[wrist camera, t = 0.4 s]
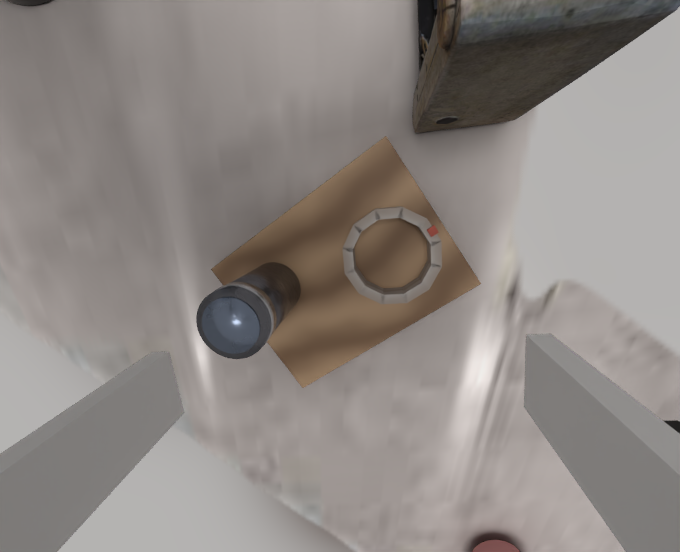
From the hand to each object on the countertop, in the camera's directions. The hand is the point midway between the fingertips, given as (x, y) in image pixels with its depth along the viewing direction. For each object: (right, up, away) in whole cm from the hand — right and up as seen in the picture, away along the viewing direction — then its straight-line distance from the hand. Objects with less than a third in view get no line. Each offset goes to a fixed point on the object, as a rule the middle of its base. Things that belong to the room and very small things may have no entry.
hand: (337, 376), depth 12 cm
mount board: (0, +4, +25) cm, 25 cm away
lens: (-7, +2, +24) cm, 26 cm away
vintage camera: (+11, +26, +18) cm, 33 cm away
